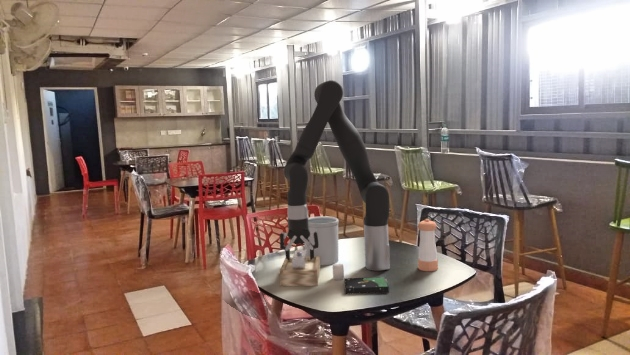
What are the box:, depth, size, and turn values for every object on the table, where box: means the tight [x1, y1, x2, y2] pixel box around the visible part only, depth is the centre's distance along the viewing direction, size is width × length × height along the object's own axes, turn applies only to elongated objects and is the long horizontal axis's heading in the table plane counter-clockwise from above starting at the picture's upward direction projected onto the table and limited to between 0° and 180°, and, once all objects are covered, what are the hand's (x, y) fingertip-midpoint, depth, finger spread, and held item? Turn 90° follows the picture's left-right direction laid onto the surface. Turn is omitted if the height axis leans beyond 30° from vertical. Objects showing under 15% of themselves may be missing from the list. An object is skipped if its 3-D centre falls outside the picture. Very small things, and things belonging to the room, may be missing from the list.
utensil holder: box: [303, 215, 339, 267], centre depth 199 cm, size 15×15×18 cm
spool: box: [332, 263, 345, 281], centre depth 176 cm, size 4×4×5 cm
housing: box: [292, 249, 308, 270], centre depth 179 cm, size 12×4×6 cm, turn 176°
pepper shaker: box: [417, 218, 439, 272], centre depth 182 cm, size 7×7×19 cm
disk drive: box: [343, 276, 390, 295], centre depth 165 cm, size 10×3×15 cm
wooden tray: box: [279, 256, 321, 287], centre depth 179 cm, size 13×17×6 cm
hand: (300, 259), depth 179 cm, fingers open, 8 cm apart
